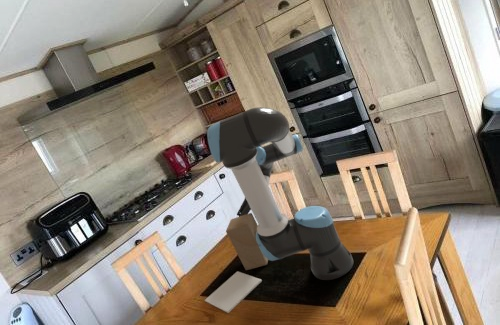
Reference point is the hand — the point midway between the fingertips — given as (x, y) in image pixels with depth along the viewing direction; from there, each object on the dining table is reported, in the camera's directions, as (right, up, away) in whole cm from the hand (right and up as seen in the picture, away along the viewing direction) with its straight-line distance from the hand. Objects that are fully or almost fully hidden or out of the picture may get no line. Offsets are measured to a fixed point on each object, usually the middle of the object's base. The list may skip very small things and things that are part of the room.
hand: (248, 235), depth 156 cm
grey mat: (-6, -20, -11) cm, 23 cm away
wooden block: (+4, -11, +2) cm, 12 cm away
